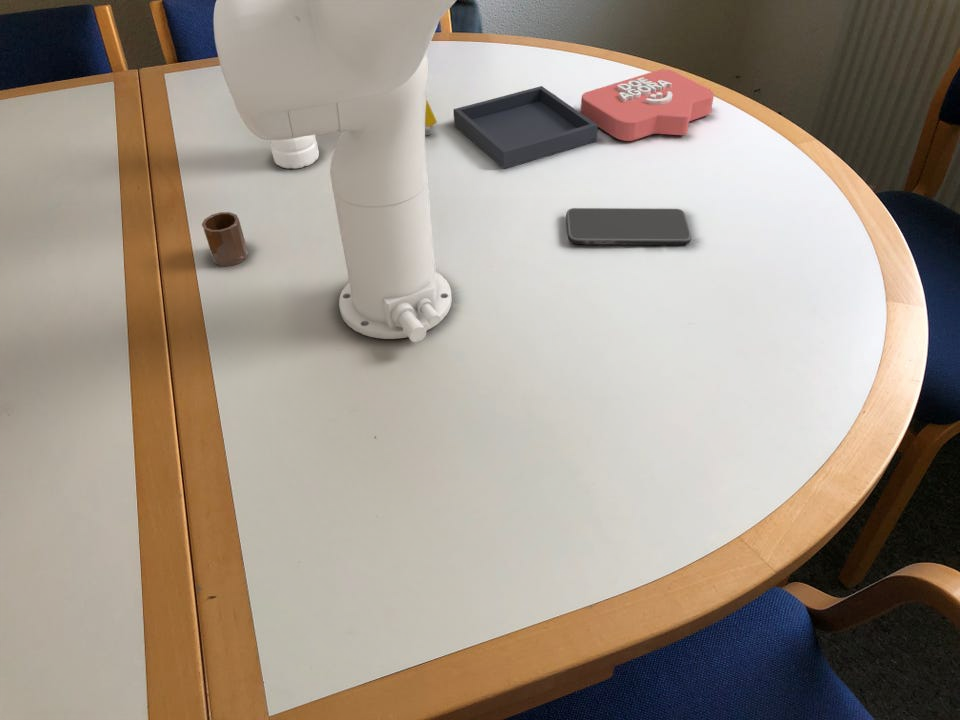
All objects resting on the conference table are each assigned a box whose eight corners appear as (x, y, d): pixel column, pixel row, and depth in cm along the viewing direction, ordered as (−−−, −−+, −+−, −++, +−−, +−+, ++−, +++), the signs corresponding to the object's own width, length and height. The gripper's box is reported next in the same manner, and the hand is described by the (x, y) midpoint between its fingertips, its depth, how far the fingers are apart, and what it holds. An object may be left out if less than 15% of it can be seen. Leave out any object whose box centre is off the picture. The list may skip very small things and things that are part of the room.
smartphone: (693, 240, 95) (568, 239, 96) (692, 247, 96) (568, 246, 97) (683, 207, 101) (565, 207, 101) (682, 213, 101) (565, 213, 102)
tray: (596, 141, 116) (597, 124, 114) (503, 169, 111) (503, 152, 109) (541, 101, 126) (541, 85, 125) (454, 125, 121) (453, 109, 120)
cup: (252, 259, 97) (242, 225, 94) (217, 270, 96) (207, 235, 92) (242, 242, 100) (233, 208, 96) (209, 252, 98) (198, 218, 95)
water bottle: (323, 147, 117) (291, -33, 100) (313, 170, 113) (277, -16, 96) (266, 147, 118) (224, -33, 101) (253, 169, 113) (207, -16, 96)
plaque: (639, 129, 110) (575, 91, 120) (636, 154, 113) (574, 115, 123) (734, 96, 117) (666, 63, 126) (729, 121, 119) (663, 86, 129)
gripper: (244, -100, 75) (282, 85, 88) (404, -126, 81) (419, 50, 94) (221, -116, 80) (260, 62, 93) (374, -140, 86) (392, 30, 99)
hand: (340, 54), depth 93 cm, fingers closed on ball, 4 cm apart
